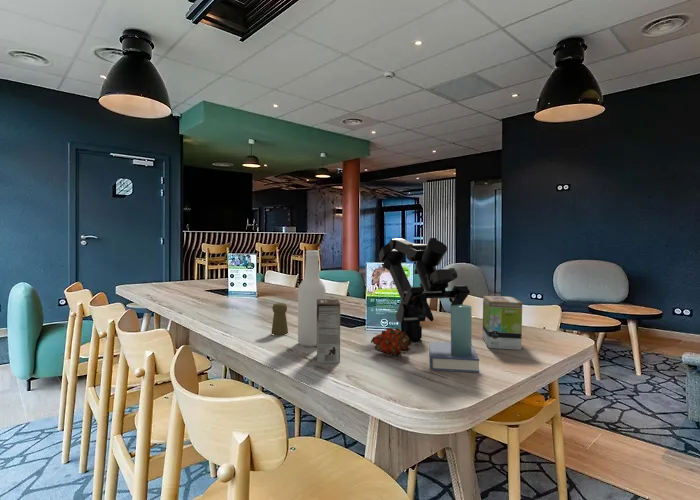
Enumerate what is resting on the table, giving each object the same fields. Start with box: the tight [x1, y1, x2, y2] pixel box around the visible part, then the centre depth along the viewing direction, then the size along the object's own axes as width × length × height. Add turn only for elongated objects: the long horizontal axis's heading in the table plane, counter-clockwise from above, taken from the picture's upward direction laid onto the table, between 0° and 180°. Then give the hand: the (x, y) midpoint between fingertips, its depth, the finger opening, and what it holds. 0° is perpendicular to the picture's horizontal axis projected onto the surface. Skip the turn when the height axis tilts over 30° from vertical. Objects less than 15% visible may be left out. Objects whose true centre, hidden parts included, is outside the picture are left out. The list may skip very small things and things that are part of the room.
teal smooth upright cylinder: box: [450, 304, 473, 357], centre depth 103 cm, size 5×5×12 cm
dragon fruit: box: [370, 327, 412, 357], centre depth 115 cm, size 8×8×12 cm
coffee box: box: [316, 298, 341, 364], centre depth 111 cm, size 9×6×16 cm
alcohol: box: [297, 249, 327, 347], centre depth 127 cm, size 9×9×30 cm
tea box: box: [482, 295, 523, 350], centre depth 128 cm, size 15×10×15 cm
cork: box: [271, 302, 289, 335], centre depth 141 cm, size 6×6×11 cm
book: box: [428, 341, 480, 374], centre depth 108 cm, size 12×16×3 cm
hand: (447, 319), depth 110 cm, fingers open, 9 cm apart
